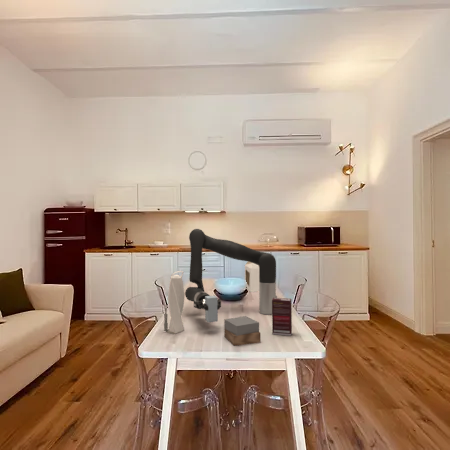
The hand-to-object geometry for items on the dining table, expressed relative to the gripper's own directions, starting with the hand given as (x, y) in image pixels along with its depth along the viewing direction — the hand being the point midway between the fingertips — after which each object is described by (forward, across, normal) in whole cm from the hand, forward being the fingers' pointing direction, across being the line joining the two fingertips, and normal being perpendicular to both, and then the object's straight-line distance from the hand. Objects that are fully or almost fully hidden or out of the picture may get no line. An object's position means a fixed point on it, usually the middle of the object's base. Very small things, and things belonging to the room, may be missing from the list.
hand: (213, 307), depth 154 cm
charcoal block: (+11, +9, +8) cm, 17 cm away
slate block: (-3, 0, +7) cm, 7 cm away
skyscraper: (-10, -15, +12) cm, 22 cm away
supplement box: (+10, +30, +13) cm, 34 cm away
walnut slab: (+11, +9, +12) cm, 19 cm away
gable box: (-89, +62, +13) cm, 109 cm away
